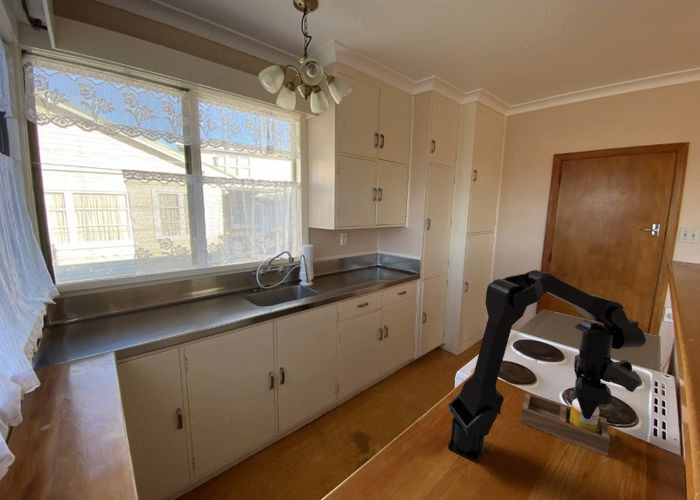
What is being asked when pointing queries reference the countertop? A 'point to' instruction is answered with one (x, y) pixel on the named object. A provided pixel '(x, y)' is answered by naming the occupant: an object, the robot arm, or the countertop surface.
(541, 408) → the walnut trough
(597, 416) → the supplement bottle
